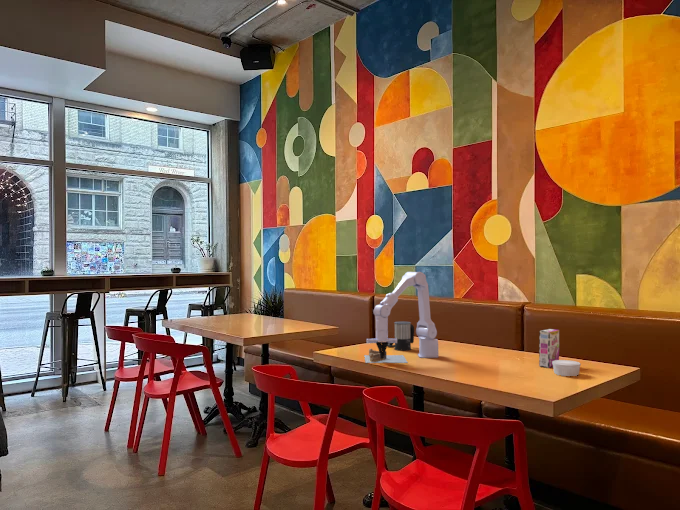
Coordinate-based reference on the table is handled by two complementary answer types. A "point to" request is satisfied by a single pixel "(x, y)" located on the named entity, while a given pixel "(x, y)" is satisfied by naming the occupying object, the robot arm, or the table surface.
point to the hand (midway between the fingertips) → (382, 358)
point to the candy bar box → (548, 347)
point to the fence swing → (374, 356)
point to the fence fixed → (376, 352)
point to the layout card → (387, 359)
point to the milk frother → (403, 336)
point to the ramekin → (566, 367)
